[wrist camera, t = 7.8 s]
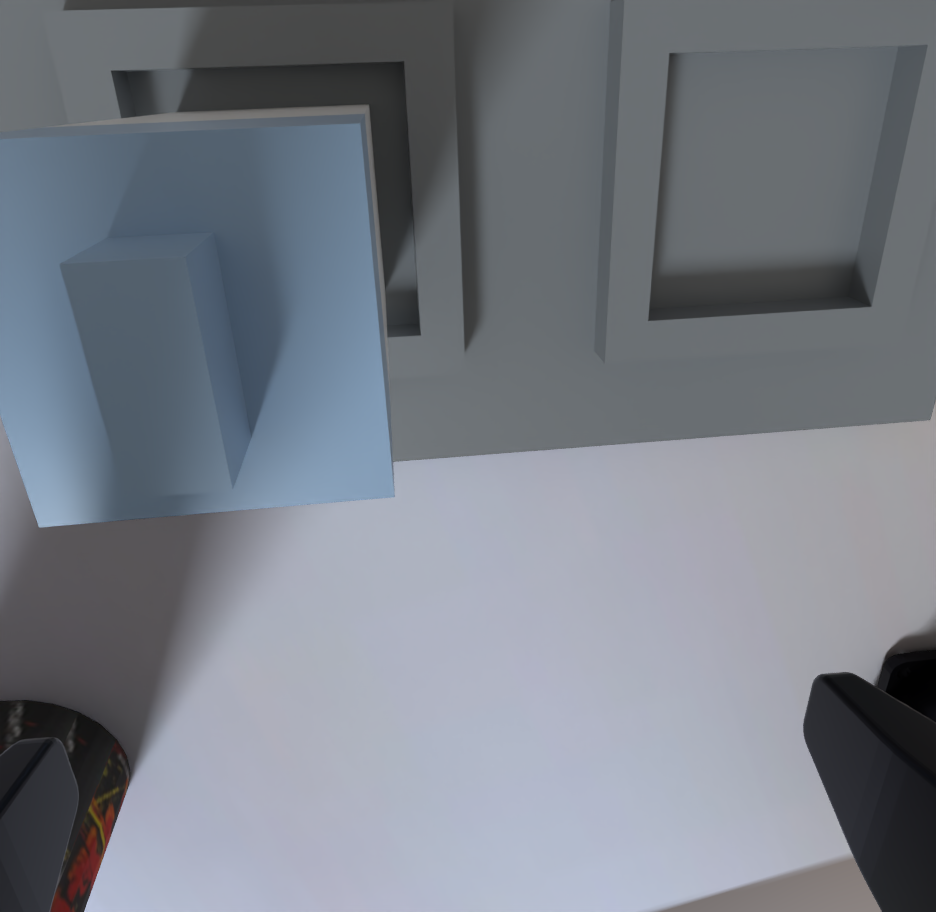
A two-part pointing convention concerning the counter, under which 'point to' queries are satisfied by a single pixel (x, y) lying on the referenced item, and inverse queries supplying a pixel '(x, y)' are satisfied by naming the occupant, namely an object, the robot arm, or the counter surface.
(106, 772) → the deodorant
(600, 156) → the panel
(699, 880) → the counter surface
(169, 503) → the plug
